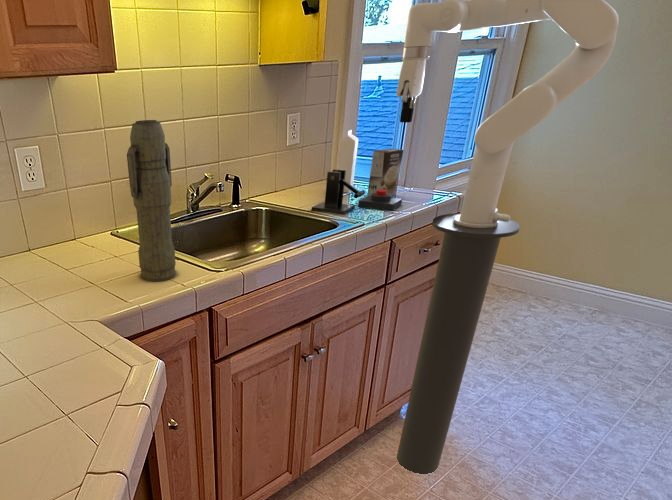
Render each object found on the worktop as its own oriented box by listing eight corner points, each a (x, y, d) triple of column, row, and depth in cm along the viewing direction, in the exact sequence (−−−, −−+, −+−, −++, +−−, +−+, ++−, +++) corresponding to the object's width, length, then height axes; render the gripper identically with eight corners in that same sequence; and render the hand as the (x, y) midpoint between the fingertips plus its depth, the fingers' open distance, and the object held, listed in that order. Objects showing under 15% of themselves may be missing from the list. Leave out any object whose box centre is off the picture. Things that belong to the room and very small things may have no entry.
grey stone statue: (186, 270, 127) (179, 118, 109) (158, 286, 119) (145, 124, 101) (159, 265, 132) (147, 118, 114) (129, 279, 123) (112, 123, 106)
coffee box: (380, 199, 185) (386, 152, 176) (366, 196, 189) (372, 150, 181) (396, 195, 189) (404, 149, 180) (383, 192, 193) (389, 147, 185)
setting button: (388, 195, 174) (388, 189, 173) (384, 197, 171) (385, 191, 171) (377, 194, 176) (378, 188, 175) (374, 196, 173) (374, 190, 173)
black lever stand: (354, 208, 174) (359, 170, 167) (344, 214, 168) (348, 174, 161) (322, 205, 180) (325, 167, 174) (311, 210, 174) (314, 171, 168)
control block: (401, 205, 175) (403, 193, 173) (392, 210, 169) (394, 198, 167) (367, 201, 182) (369, 190, 180) (358, 207, 176) (359, 195, 174)
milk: (352, 189, 200) (360, 129, 189) (349, 192, 195) (356, 131, 184) (337, 188, 203) (343, 129, 192) (333, 191, 198) (340, 131, 187)
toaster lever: (362, 196, 169) (366, 190, 167) (355, 200, 165) (359, 194, 163) (334, 175, 172) (338, 169, 170) (327, 178, 168) (331, 172, 166)
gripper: (411, 54, 156) (401, 119, 165) (394, 55, 146) (385, 124, 155) (436, 53, 152) (425, 120, 161) (421, 53, 142) (410, 124, 151)
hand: (405, 122), depth 158 cm, fingers closed
